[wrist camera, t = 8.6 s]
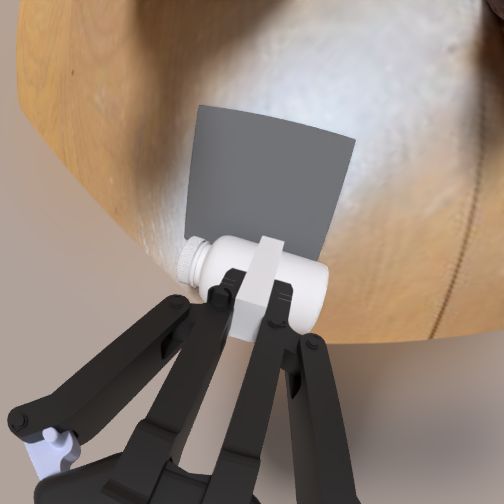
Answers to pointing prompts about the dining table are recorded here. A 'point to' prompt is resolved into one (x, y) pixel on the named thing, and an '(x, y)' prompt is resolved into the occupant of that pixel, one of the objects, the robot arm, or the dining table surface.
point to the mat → (264, 179)
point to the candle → (497, 7)
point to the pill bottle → (239, 257)
